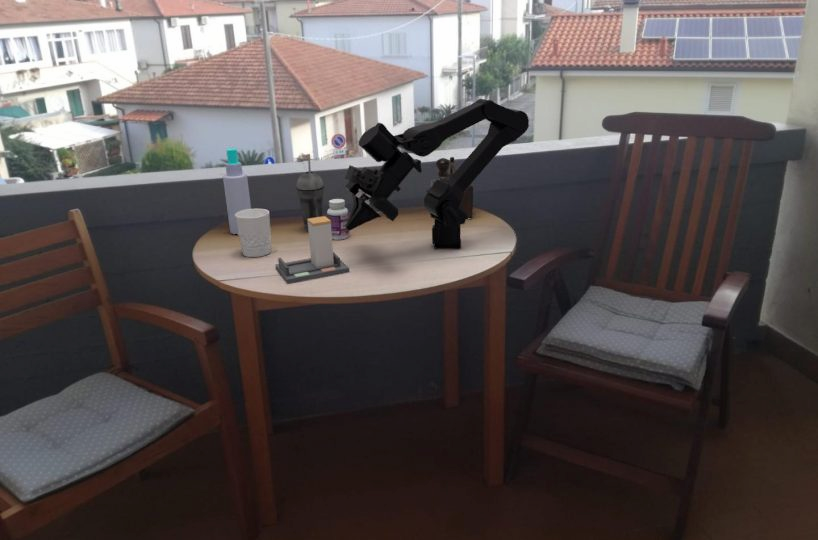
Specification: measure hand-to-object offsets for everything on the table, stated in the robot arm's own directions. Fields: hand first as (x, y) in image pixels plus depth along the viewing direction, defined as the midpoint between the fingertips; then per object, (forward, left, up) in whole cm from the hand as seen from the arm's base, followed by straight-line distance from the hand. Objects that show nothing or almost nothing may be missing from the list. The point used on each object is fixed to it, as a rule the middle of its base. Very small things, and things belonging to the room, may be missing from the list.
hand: (347, 228), depth 141 cm
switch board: (+8, +4, -8) cm, 12 cm away
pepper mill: (-23, -36, -9) cm, 43 cm away
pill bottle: (+6, -19, -9) cm, 21 cm away
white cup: (+24, -7, -9) cm, 26 cm away
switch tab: (+5, +3, -7) cm, 9 cm away
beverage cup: (+14, -25, -9) cm, 30 cm away
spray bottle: (+33, -23, -9) cm, 41 cm away
